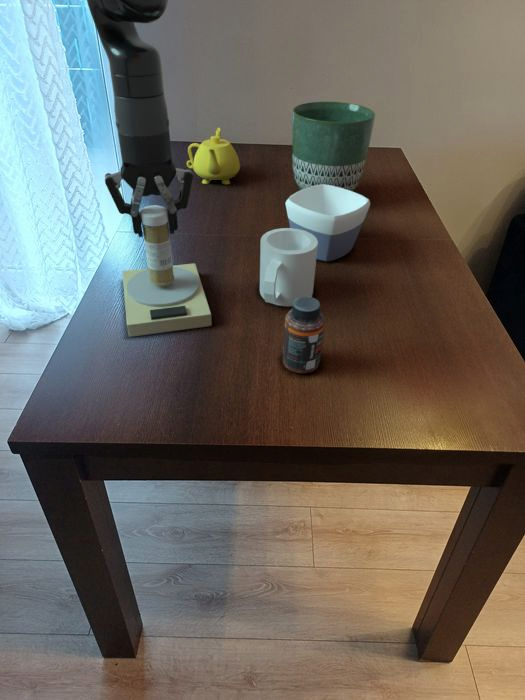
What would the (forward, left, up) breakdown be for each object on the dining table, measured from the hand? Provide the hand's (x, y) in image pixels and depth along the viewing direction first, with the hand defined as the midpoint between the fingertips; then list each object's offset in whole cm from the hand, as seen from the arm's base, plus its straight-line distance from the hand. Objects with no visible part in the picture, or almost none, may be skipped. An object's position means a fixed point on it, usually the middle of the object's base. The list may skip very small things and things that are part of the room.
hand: (156, 233), depth 83 cm
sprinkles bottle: (0, 0, -10) cm, 10 cm away
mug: (+22, -3, -13) cm, 26 cm away
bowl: (+36, +13, -13) cm, 40 cm away
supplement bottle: (+19, -23, -13) cm, 33 cm away
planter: (+46, +39, -13) cm, 62 cm away
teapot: (+20, +59, -13) cm, 64 cm away
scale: (0, -1, -13) cm, 13 cm away
